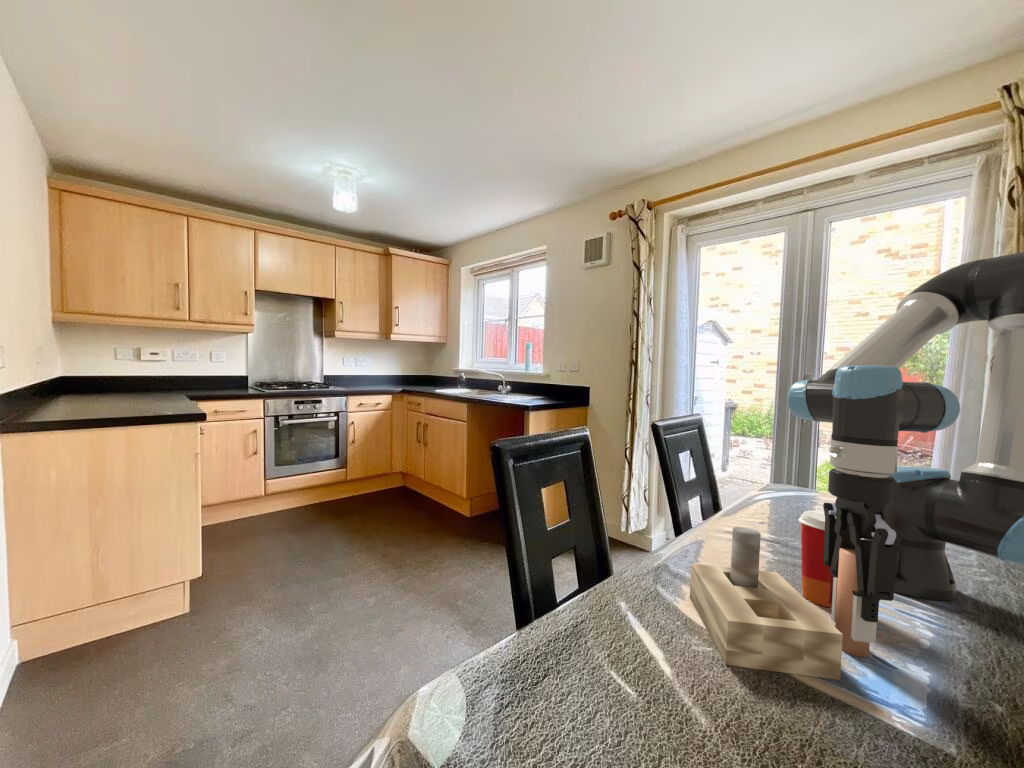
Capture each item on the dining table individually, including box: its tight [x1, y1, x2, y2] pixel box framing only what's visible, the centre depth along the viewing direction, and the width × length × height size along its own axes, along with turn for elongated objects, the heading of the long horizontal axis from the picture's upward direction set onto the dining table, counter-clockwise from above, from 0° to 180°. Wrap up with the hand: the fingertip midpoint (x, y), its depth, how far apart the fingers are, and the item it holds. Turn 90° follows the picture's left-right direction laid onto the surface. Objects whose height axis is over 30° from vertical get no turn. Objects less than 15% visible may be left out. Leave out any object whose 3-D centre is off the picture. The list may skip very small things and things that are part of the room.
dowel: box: [834, 548, 871, 658], centre depth 62 cm, size 4×4×14 cm
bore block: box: [689, 526, 843, 681], centre depth 65 cm, size 14×18×14 cm
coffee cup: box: [798, 510, 833, 609], centre depth 76 cm, size 8×8×15 cm
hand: (852, 630), depth 62 cm, fingers closed on dowel, 4 cm apart
